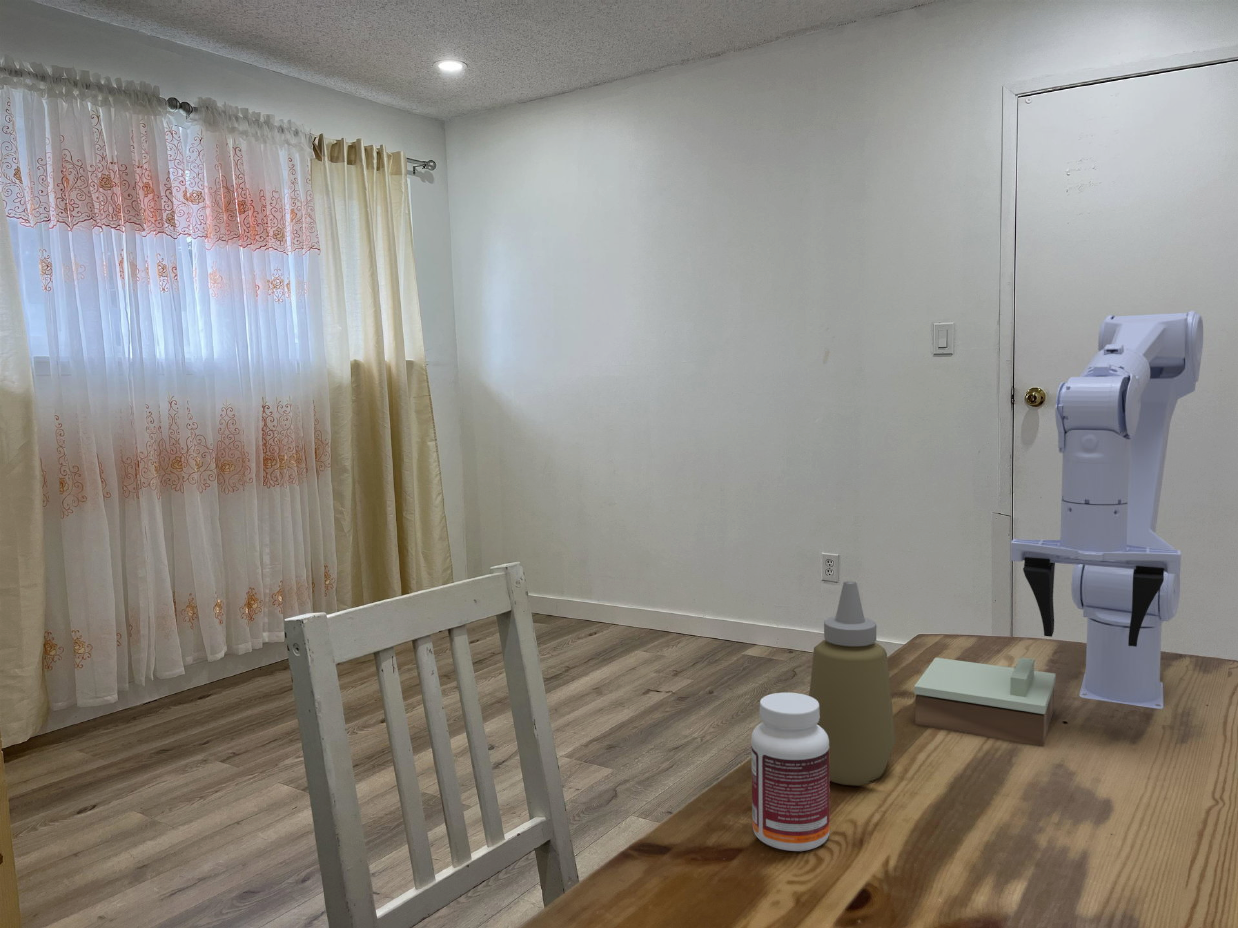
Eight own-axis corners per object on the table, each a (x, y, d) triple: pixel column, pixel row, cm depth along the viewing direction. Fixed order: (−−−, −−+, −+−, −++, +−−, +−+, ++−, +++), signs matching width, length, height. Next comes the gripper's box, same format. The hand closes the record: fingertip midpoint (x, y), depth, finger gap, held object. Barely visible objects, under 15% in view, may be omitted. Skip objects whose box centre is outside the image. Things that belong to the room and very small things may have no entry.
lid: (935, 664, 102) (935, 641, 102) (1055, 680, 96) (1056, 657, 96) (914, 693, 93) (914, 669, 93) (1044, 714, 87) (1045, 687, 87)
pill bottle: (846, 838, 73) (846, 705, 72) (789, 862, 69) (789, 723, 68) (791, 808, 78) (790, 683, 77) (736, 829, 74) (734, 699, 73)
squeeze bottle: (788, 775, 84) (787, 584, 82) (832, 747, 90) (832, 569, 88) (868, 802, 78) (869, 598, 77) (910, 770, 84) (912, 580, 82)
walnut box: (935, 698, 102) (936, 667, 102) (1053, 717, 96) (1054, 684, 96) (915, 729, 94) (915, 695, 93) (1042, 752, 88) (1043, 716, 87)
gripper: (1007, 502, 88) (1004, 639, 89) (1183, 511, 80) (1177, 660, 82) (1017, 493, 94) (1014, 621, 95) (1182, 500, 87) (1176, 640, 88)
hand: (1089, 638), depth 89 cm, fingers open, 7 cm apart
